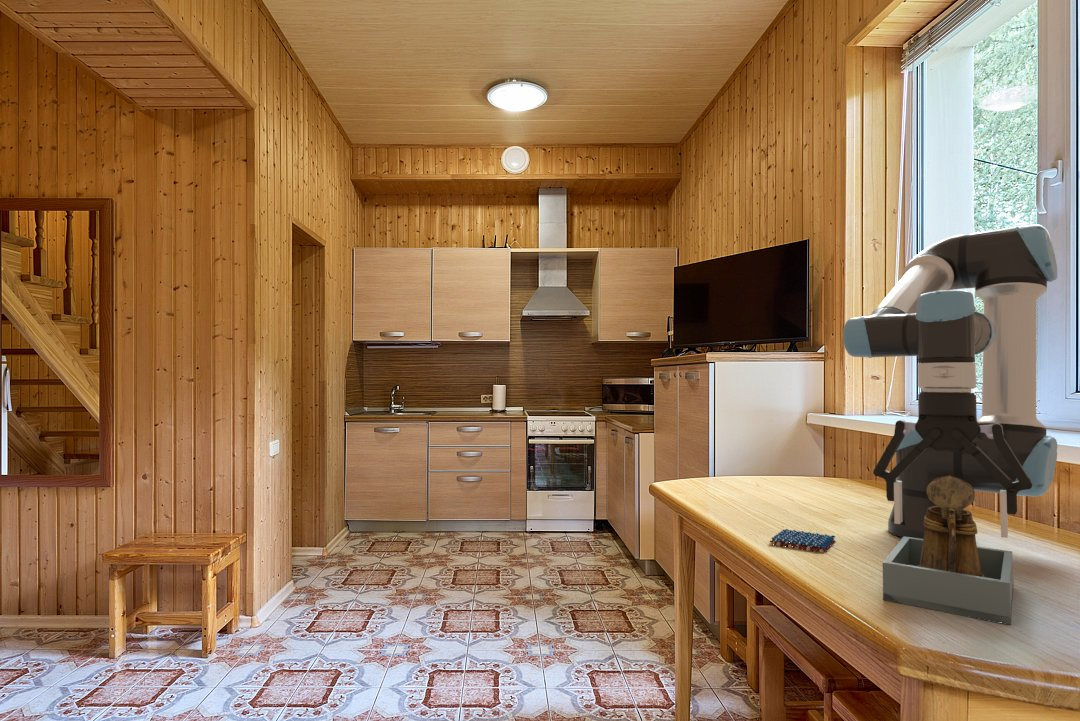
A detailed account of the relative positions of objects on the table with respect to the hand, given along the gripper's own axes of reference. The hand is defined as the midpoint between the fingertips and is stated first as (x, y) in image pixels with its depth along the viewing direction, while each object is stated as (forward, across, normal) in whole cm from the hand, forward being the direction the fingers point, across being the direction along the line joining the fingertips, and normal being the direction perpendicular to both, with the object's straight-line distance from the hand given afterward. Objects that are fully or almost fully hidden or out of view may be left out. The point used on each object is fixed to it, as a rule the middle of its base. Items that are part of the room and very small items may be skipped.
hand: (949, 529), depth 94 cm
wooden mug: (+9, 0, 0) cm, 9 cm away
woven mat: (+10, -26, +16) cm, 32 cm away
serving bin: (+10, 0, 0) cm, 10 cm away
